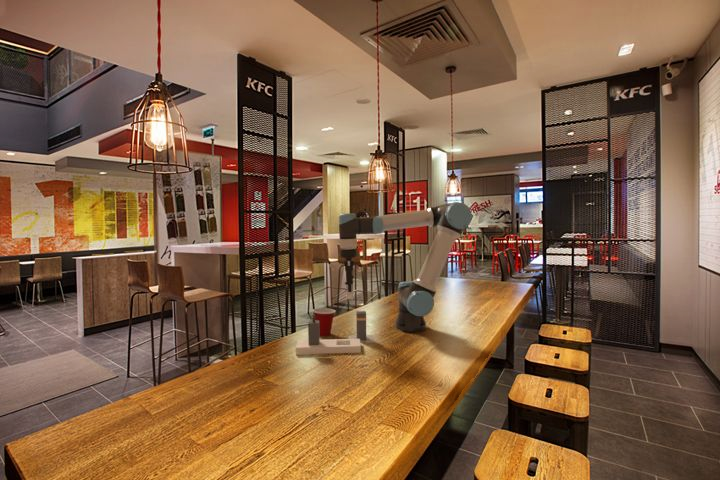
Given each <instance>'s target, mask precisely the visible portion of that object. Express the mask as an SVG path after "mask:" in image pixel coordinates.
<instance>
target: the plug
mask: <svg viewBox="0 0 720 480" xmlns="http://www.w3.org/2000/svg"><path fill="white" fill-rule="evenodd" d="M355 313H356V317H355V318H356V319H355V321H356V322H355V323H356V335H357V339H360V340H366V335H367V312H366V310H365V311H364V310H362V311H361V310H359V311H358V310H356V311H355Z"/></svg>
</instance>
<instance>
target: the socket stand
mask: <svg viewBox="0 0 720 480" xmlns="http://www.w3.org/2000/svg"><path fill="white" fill-rule="evenodd" d="M311 315H312V320H308V323H307V325H308V326H307V329H308V330H307V331H308V333H307V334H308V339H301V340H300V339H298V341H297V342H296V346H295V356H308V355H310V356H312V355H314V354H318V355H321V354H351V353H354V354H355V353H359V354H360V353H362V352H361V351H362V350H361V349H362V345H361V343H360V339H348V338H338V339H337V338H334V339H330V338H329V339H320V337H321V336H320V331H319V320H315V314H314V313H313V314H311Z"/></svg>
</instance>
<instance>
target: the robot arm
mask: <svg viewBox="0 0 720 480" xmlns="http://www.w3.org/2000/svg"><path fill="white" fill-rule="evenodd" d="M472 219H473V213H472V211H471V208H470V207H469V206H468V205H467V204H466V203H464V202H459V201H454V202H451V203H450V202H448V203H443V204H441V205H436V206H431V207H428V208H426V209H425V210H424V209H423V210H416V211H415V210H414V211H408V212H398V213H390V214H383V215H376V216H365V217H357V215H356V213H341V214H339V216H338V231H339V232H338V235H339V240H338V244H339V248H340V249H339V256H340V258H342V259H345V261H344V271H345V272H346V281H345V282H344V285H346V300H354V281H353V279H354V277H355V276H354V275H353V271H354V260H352V259H353V258H357V256H358V249H357V247H358V242H357V241H358V240H357V239H358V238H357V235H358V236H359V235H377V234H382V233H383V232H387V231H393V230H394V231H395V230H402V229H403V230H404V229H409V228H410V229H411V228H418V227H427V226H428V227H430V228H437V233H436V235H435V237H434V239H433V242H432V244H431V247H430V248H429V251H428V253H427V255H426V258H425V260H424V263H423V265H422V267H421V269H420V272H419V274H418V276H417V278H416V279H414V280H412V281H400V282H399V283H398V287H397V289H398V312H397V313H398V314H397V316H396V318H395V319H396V320H395V322H394V328H395V330H396V329H397V330H398V331H401V332H404V333H418V332H419V333H420V332H423V331H425V330H427V323H426V319H425V317H424V316H427V315H429V314H430V313H431V312H432V311H433V309H434V305H435V300H434V298H435V297H436V293H437V289H436V284H437V282H438V281H439V278H440V276H441V273H442V271H443V269H444V267H445V264H446V262H447V259H448V257H449V255H450V252H452V251H451V250H452V248H453V245H454V243H455V241H456V240H457V238H458V237H459V238H460V237H462V234H463V232H464V229H466V228H467V227H469V226H470V225H471V223H472Z"/></svg>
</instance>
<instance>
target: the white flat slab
mask: <svg viewBox="0 0 720 480" xmlns="http://www.w3.org/2000/svg"><path fill="white" fill-rule="evenodd" d="M347 339H357V334H356V335H354V334H353V335H347ZM361 343H362V344H364V343H366V344H368V343H370V344H371V343H376V338H375V335H374V334H366V340H360V344H361Z"/></svg>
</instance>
